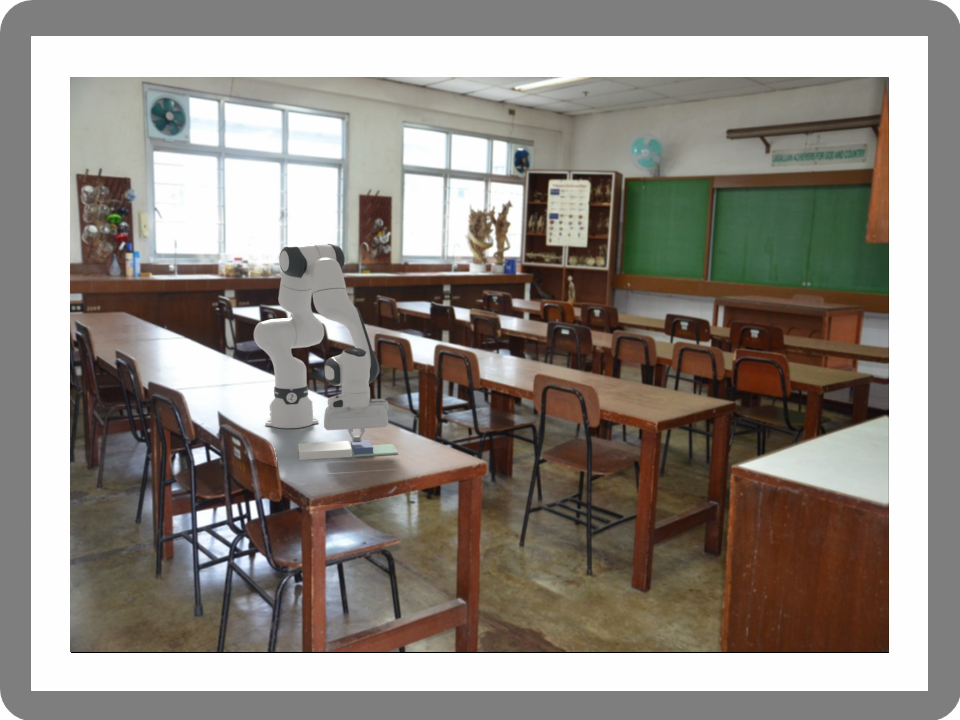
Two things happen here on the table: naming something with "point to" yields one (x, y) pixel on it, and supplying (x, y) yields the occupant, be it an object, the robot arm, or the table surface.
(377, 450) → the mat
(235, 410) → the table surface
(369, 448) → the tile
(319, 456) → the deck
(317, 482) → the table surface
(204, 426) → the table surface
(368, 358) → the robot arm
